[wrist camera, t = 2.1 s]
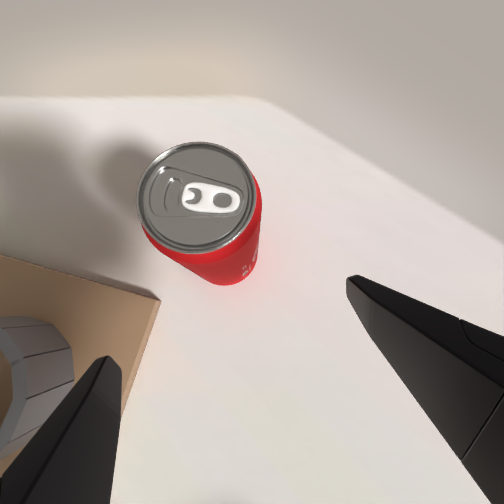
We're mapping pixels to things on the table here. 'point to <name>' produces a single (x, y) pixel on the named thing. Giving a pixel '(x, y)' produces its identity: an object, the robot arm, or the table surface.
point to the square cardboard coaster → (59, 342)
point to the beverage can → (202, 210)
